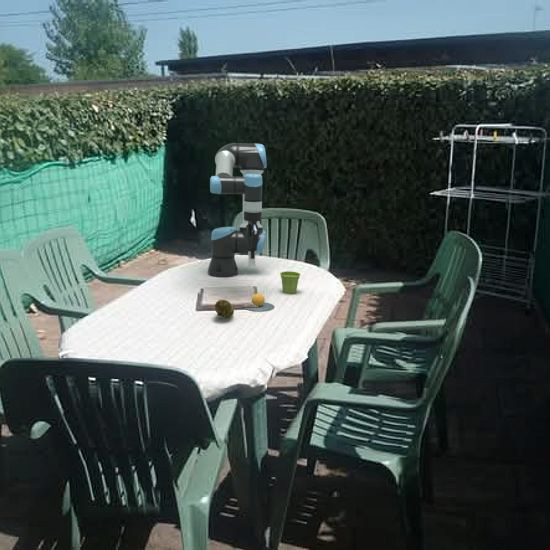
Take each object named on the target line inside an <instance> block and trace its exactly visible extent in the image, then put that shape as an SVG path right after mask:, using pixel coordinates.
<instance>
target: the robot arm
mask: <svg viewBox="0 0 550 550" xmlns="http://www.w3.org/2000/svg"><path fill="white" fill-rule="evenodd" d="M214 162H215V166H216V167H215V175H212V176H211V177H210V179H209V188H210V189H209V190H210V193H212V194H216V195H242V223H241V224H240V225H239V228H238V229H237V230H236V228H235V226H222V227H218V228H214V229H213V230H212V232H211V238H210V241H211V257H210V262H209V265H208V268H207V274H208V275H209V276H212V277H217V278H229V277H230V278H231V277H236V276H237V275H238V274H239V268H238V265H237V262H236V257H235V255H236V254H243V255H247V254H248V257H247V258H248V259H247V260H248V261H247V262H248V263H247V265H248V266H249V267H255V266H256V254H258V255H260V254H261V253H262V252H263V251H264V248H265V247H264V246H265V242H266V241H265V239H266V231H265V230H264V227H263V225H262V224H261V222H260V221H262V211H263V210H262V209H263V207H262V206H263V199H262V198H263V176H262V174H263V173H264V169H267V166H268V164H267V154H266V148H265V145H263V144H262V143H254V142H253V143H251V142H249V143H248V142H246V143H245V142H244V143H239V142H237V143H236V142H232V143H227V144H225V145H224V146H222V147H221V148H220V149H219V150H218V151H217V152H216V154H215V157H214ZM234 168H239V171H240V173H241V174H242V176H233V169H234Z"/></svg>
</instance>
